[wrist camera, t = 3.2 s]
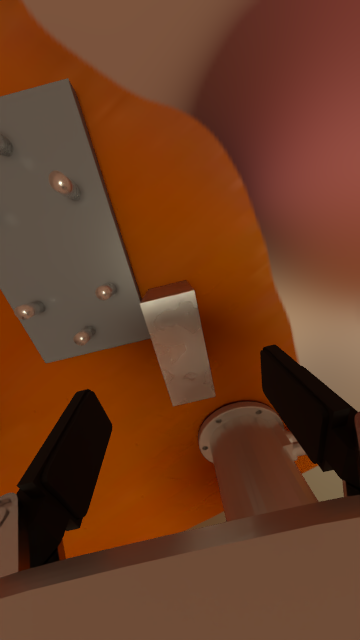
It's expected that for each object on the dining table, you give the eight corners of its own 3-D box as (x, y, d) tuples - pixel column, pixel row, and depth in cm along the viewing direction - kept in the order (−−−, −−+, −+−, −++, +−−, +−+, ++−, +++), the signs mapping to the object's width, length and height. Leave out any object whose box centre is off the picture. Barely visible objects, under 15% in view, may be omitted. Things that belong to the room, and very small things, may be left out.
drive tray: (75, 92, 12) (67, 78, 11) (152, 334, 19) (151, 338, 18) (-80, 133, 13) (-101, 123, 12) (51, 358, 20) (45, 363, 19)
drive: (185, 279, 18) (194, 290, 12) (203, 359, 21) (215, 396, 16) (148, 288, 18) (139, 303, 12) (171, 366, 21) (173, 406, 16)
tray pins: (55, 120, 12) (34, 95, 10) (130, 326, 18) (125, 335, 16) (-57, 150, 12) (-98, 130, 10) (53, 345, 18) (40, 355, 16)
